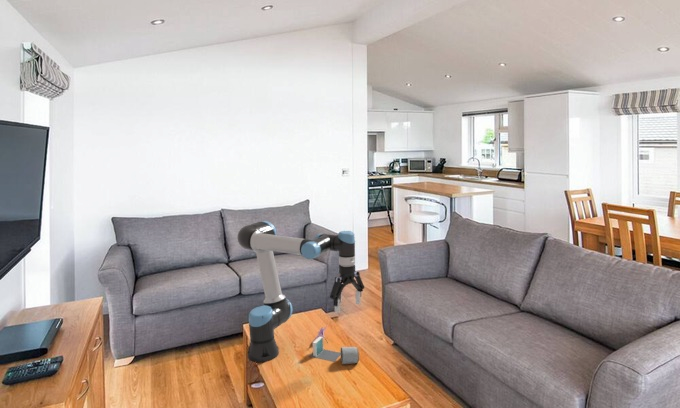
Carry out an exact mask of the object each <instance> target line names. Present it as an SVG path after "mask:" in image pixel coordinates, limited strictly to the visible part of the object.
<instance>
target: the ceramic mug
mask: <svg viewBox="0 0 680 408" xmlns="http://www.w3.org/2000/svg"><path fill="white" fill-rule="evenodd" d="M340 353H341V355H340V362H341V365H350V364H357V363H359V361H360V350H359V348H358V347H357V346H341V347H340Z"/></svg>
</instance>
